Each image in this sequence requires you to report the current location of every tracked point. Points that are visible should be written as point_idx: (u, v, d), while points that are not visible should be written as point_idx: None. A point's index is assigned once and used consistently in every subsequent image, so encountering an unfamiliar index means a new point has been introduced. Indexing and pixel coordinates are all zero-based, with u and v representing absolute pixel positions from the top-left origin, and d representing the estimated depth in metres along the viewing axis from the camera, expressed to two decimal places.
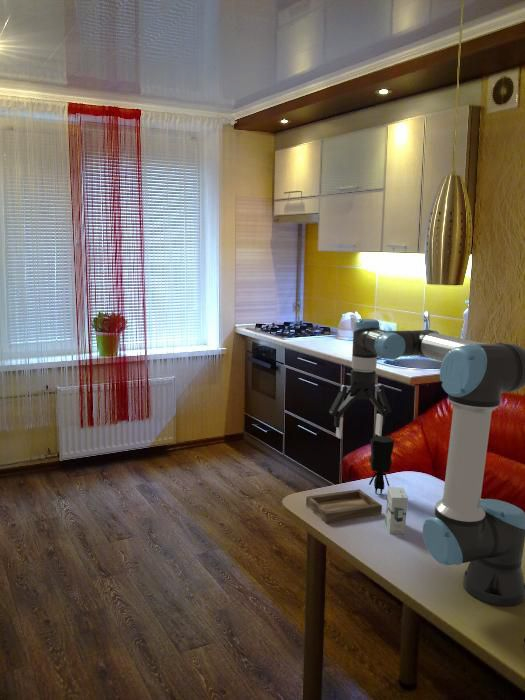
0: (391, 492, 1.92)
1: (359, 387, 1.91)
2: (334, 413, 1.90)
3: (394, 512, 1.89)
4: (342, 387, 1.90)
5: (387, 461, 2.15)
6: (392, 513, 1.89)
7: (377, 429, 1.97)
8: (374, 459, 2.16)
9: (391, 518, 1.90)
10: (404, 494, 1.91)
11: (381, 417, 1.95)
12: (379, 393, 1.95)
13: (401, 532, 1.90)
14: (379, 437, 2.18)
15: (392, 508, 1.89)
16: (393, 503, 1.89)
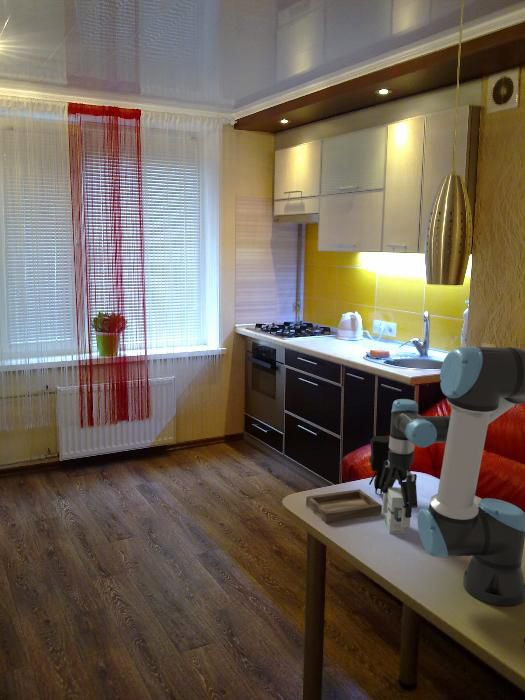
0: (391, 492, 1.92)
1: (393, 464, 1.92)
2: (380, 485, 1.99)
3: (394, 512, 1.89)
4: None
5: None
6: (392, 513, 1.89)
7: None
8: (374, 459, 2.16)
9: (391, 518, 1.90)
10: None
11: (403, 508, 1.88)
12: None
13: (401, 532, 1.90)
14: (379, 437, 2.18)
15: (392, 508, 1.89)
16: (393, 503, 1.89)
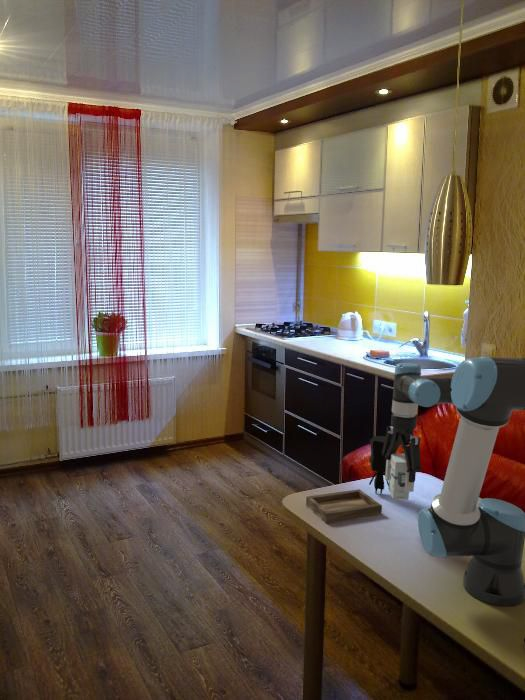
0: (394, 457, 1.90)
1: (396, 429, 1.90)
2: (383, 452, 1.97)
3: (397, 477, 1.87)
4: None
5: None
6: (395, 478, 1.87)
7: None
8: (374, 459, 2.16)
9: (394, 483, 1.87)
10: None
11: (406, 472, 1.85)
12: None
13: (405, 498, 1.88)
14: (379, 437, 2.18)
15: (395, 473, 1.87)
16: (396, 468, 1.86)
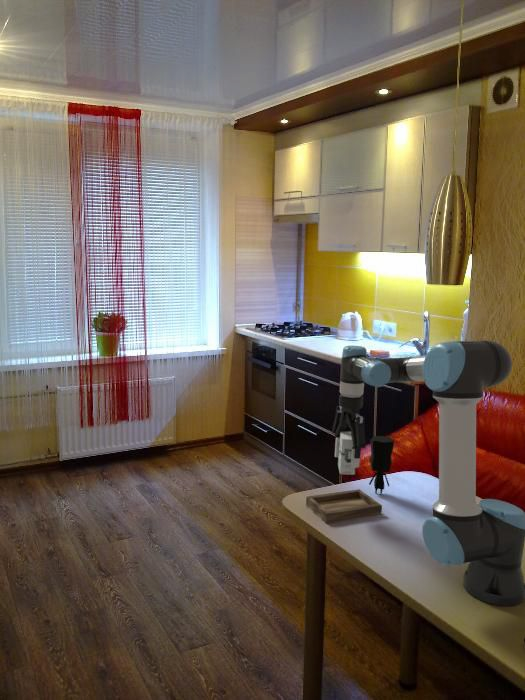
0: (342, 435, 2.01)
1: (344, 408, 2.00)
2: (333, 431, 2.07)
3: (344, 453, 1.98)
4: None
5: (387, 461, 2.15)
6: (342, 454, 1.98)
7: None
8: (374, 459, 2.16)
9: (341, 459, 1.98)
10: None
11: (352, 449, 1.96)
12: None
13: (351, 473, 1.99)
14: (379, 437, 2.18)
15: (342, 449, 1.97)
16: (343, 444, 1.97)
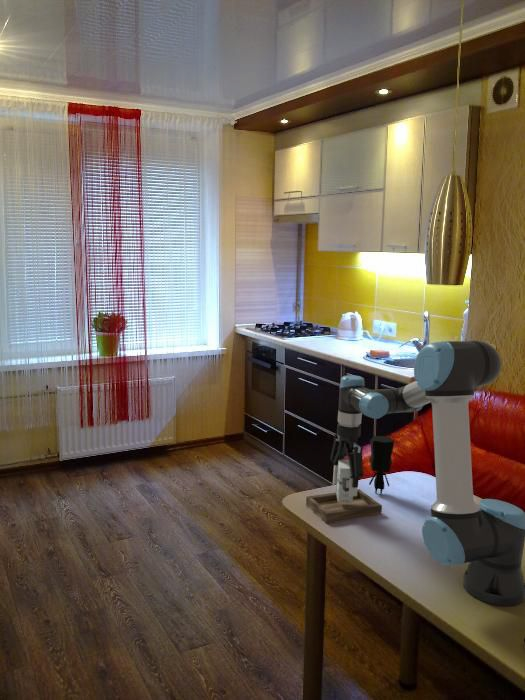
0: (340, 464, 2.02)
1: (342, 437, 2.02)
2: (331, 458, 2.09)
3: (342, 482, 1.99)
4: None
5: (387, 461, 2.15)
6: (340, 483, 1.99)
7: None
8: (374, 459, 2.16)
9: (339, 488, 2.00)
10: None
11: (350, 478, 1.98)
12: None
13: (349, 501, 2.00)
14: (379, 437, 2.18)
15: (340, 478, 1.99)
16: (341, 473, 1.99)
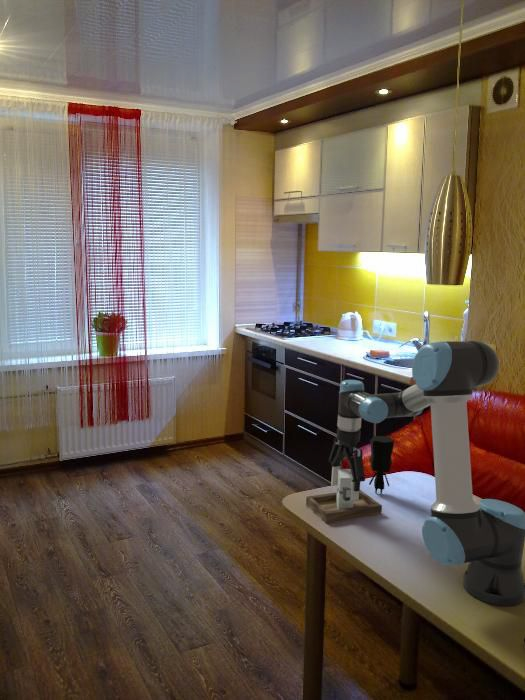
0: (340, 473, 2.03)
1: (342, 442, 2.02)
2: (329, 460, 2.10)
3: (342, 491, 1.99)
4: None
5: (387, 461, 2.15)
6: (340, 493, 2.00)
7: None
8: (374, 459, 2.16)
9: (340, 497, 2.00)
10: None
11: (352, 482, 1.97)
12: None
13: None
14: (379, 437, 2.18)
15: (340, 488, 1.99)
16: (341, 483, 1.99)
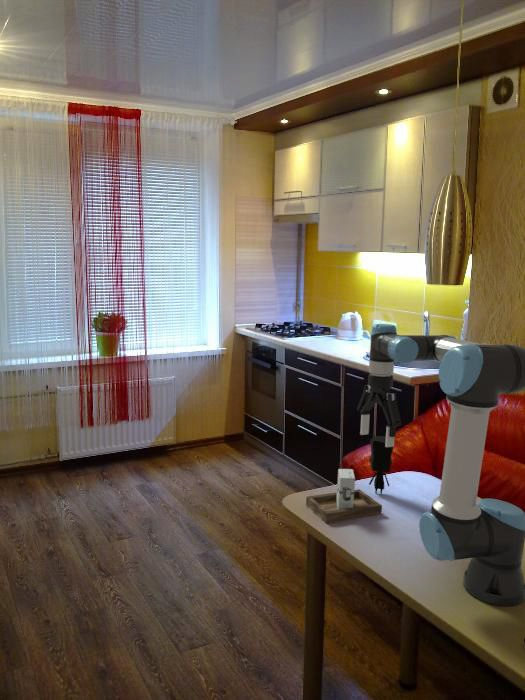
0: (340, 473, 2.03)
1: (374, 390, 1.96)
2: (358, 408, 2.04)
3: (342, 491, 1.99)
4: None
5: (387, 461, 2.15)
6: (340, 493, 2.00)
7: None
8: (374, 459, 2.16)
9: (339, 497, 2.00)
10: (352, 475, 2.01)
11: (387, 427, 1.90)
12: None
13: None
14: (379, 437, 2.18)
15: (340, 488, 1.99)
16: (341, 483, 1.99)
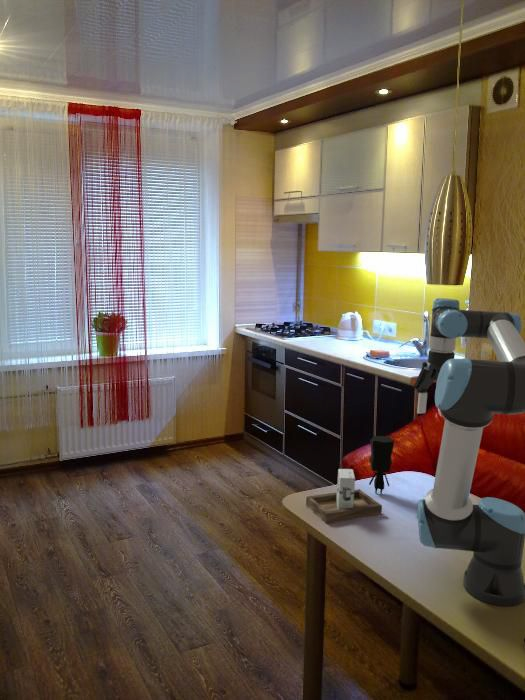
0: (340, 473, 2.03)
1: (433, 367, 1.88)
2: (415, 386, 1.97)
3: (342, 491, 1.99)
4: None
5: (387, 461, 2.15)
6: (340, 493, 2.00)
7: None
8: (374, 459, 2.16)
9: (339, 497, 2.00)
10: (352, 475, 2.01)
11: None
12: None
13: None
14: (379, 437, 2.18)
15: (340, 488, 1.99)
16: (341, 483, 1.99)
